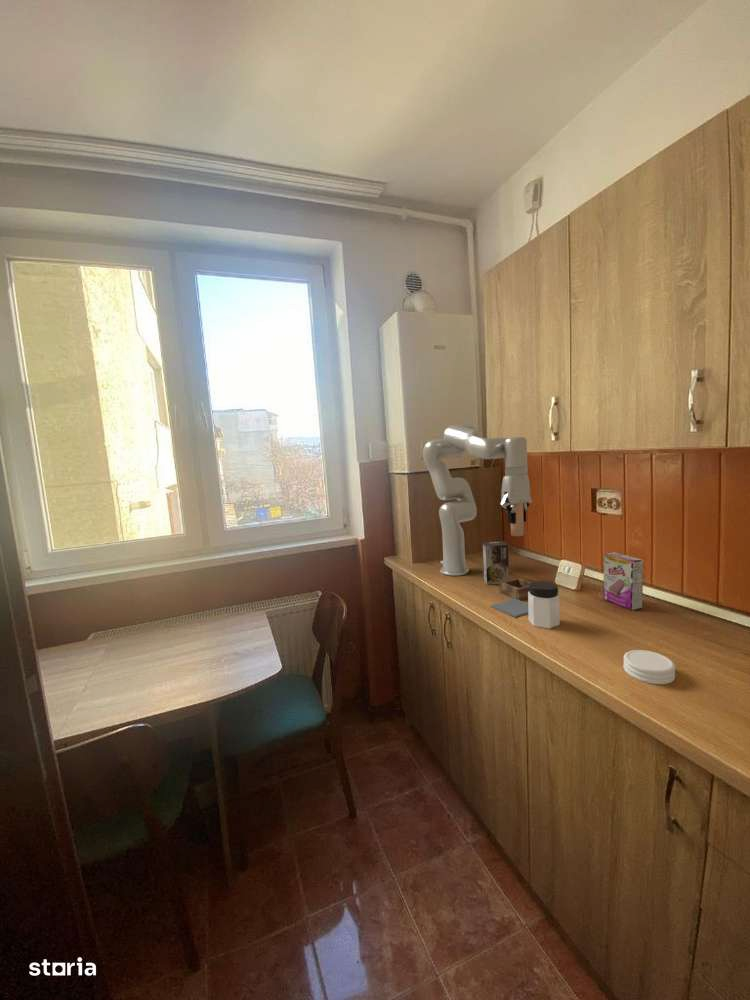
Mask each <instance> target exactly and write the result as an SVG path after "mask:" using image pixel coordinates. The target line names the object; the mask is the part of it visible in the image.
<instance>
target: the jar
mask: <svg viewBox="0 0 750 1000" xmlns="http://www.w3.org/2000/svg"><path fill="white" fill-rule="evenodd" d="M531 582H532V583H530V584H529V592H528V598H527V601H528V602H527V604H528V621H529V622H530V624H532V626H533V627H537V628H543V629H549V630H550V629H552V628H555V627H558V626H560V625H561V622H560V615H561V614H560V594H559V587H558V585H557V583H554V582H552V581H551V582H550V581H547V580H546V581H545V580H539V581H538V580H536V581H531Z"/></svg>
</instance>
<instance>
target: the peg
mask: <svg viewBox="0 0 750 1000" xmlns="http://www.w3.org/2000/svg"><path fill="white" fill-rule="evenodd" d="M510 507H511V505H510ZM514 513H515V514H516V523H515V524H512V523H510V536H512V537H522V536H524V535H525V532H524V531H525V530H524V527H525V526H524V524H525V522H524V519H523V501H522V500H520V502H519V503H518V504H515V509H514Z"/></svg>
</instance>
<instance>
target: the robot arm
mask: <svg viewBox="0 0 750 1000" xmlns="http://www.w3.org/2000/svg"><path fill="white" fill-rule="evenodd" d="M527 442H528V440H527V438H526V437H524V436H513V437H482V434H481V432H480V431H479V430H477V429H476V427H474V426H473V425H471V424H453V425H450V426H448V427H447V428H446V429H445V430H444V432H443V439H442V438H441V439H440V438H439V439H433V440H429V441H427V443H425V445H424V446H423V450H422V456H423V457H422V458H423V462H424V463H425V467H426V469H427V470H428V473H429V474H430V478H431V481H432V484H433V488H434V491H435V494H436V496H437V498H438V499H439V500H442V501H449V500H451V501H449V502H445V503H443V504H442V505H441V506H440V507H439V510H438V516H439V521H440V524H441V525H440V526H441V535H442V537H441V538H442V556H443V557H442V560H440V563H439V564H441V565H442V567H441V568H440V573H441V574H442V575H445V576H453V577H455V576H456V577H457V576H464V575H467V574H469V572H470V569H469V567H467V566H466V553H465V551H466V550H465V547H466V545H465V532H464V529H463V528H462V525H461V524H460V523H464V522H468V521H472V520H474V519H475V518H476V516H477V515H478V514H477V513H478V512H477V511H478V510H477V505H476V502H475V498H474V496H473V493H472V490H471V486H470V484H469V482H468V481H467V480H466V479H464V478H463V477H453V476H451V474H450V470H449V468H448V466H447V465H446V463H445V462H443V460H442V459H450V458H451V459H452V458H453V459H454V458H456V457H459V456H460V455H462V454H463V453H465V452H467V453H468V454H469V455H470V456H473V457H476V458H479V459H483V460H492V459H493V460H494V459H504V473H505V474H504V476H503V477H502V481H501V482H502V483H501V494H500V495H501V502H500V506H501V508H503V509H504V510H505V512H506V513H507V522H508V524H511V523H512V524H515V523H516V514H515V513H514V509H515V504H518V503H519V502H520V500H522V501H523V519H524V523H526V522H527V511H528V508H529V506H530V504H531V503H533V499H532V497H531V486H530V485H531V484H530V478H529V475H528V471H529V468H528V443H527ZM452 500H455V501H452ZM510 505H511V507H510Z"/></svg>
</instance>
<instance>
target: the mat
mask: <svg viewBox="0 0 750 1000" xmlns="http://www.w3.org/2000/svg"><path fill="white" fill-rule="evenodd" d="M490 608H493V609H494V610H497V611H499V612H502V613H504V614H506V615H508V616H510V617H512V618H518V617H522V616H525V615H527V614H528V602H525V601H523V600H517V599H515V598H512V599H508V600H504V601H501V602H498V603H494V604H490Z"/></svg>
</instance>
